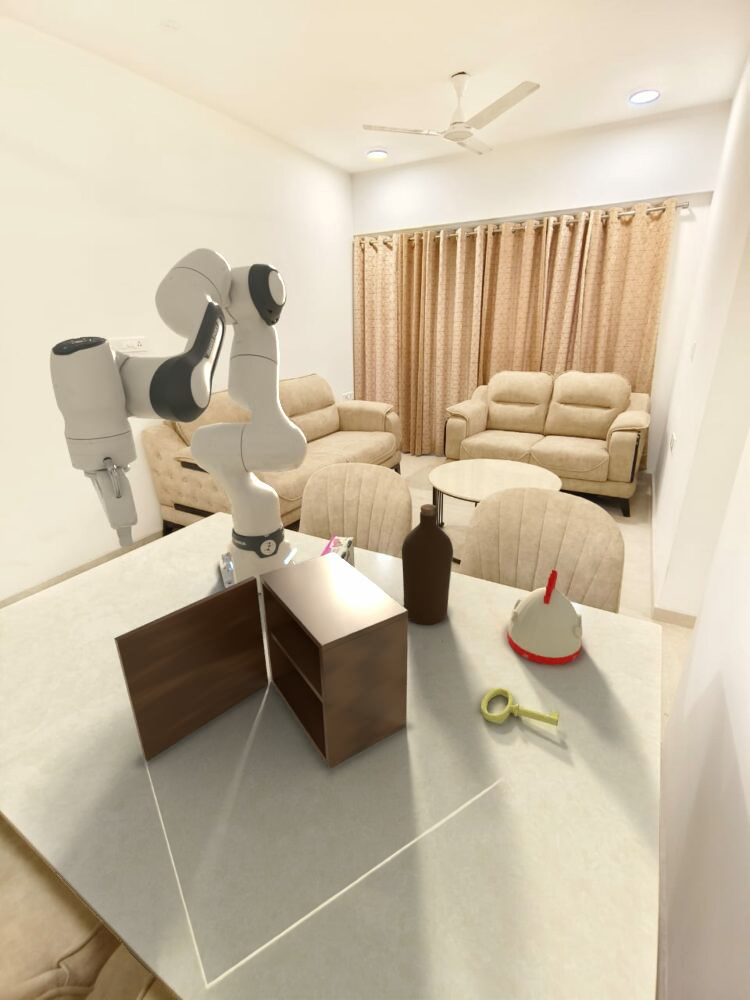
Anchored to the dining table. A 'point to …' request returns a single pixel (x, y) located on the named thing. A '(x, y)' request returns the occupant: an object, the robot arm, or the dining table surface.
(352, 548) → the candy bar box
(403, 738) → the dining table surface
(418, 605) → the olive oil
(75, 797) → the dining table surface
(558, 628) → the kitchen timer
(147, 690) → the door
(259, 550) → the robot arm
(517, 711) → the key
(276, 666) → the cupboard
